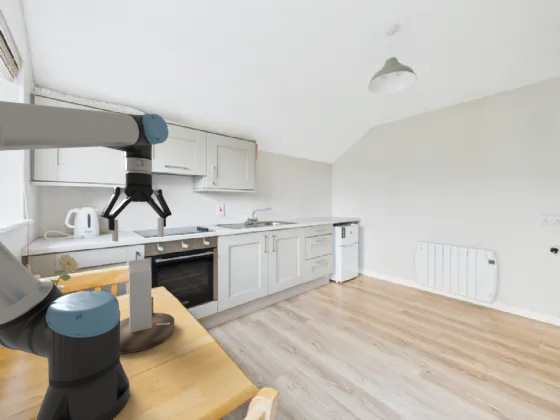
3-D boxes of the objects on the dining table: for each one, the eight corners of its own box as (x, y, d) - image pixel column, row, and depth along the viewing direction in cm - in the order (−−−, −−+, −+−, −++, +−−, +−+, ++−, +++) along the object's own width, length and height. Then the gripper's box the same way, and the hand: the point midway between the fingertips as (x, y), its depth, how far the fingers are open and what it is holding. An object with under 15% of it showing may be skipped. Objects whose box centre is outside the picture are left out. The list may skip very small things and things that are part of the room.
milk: (129, 325, 80) (128, 259, 80) (149, 320, 84) (148, 256, 83) (130, 333, 75) (129, 262, 75) (152, 327, 79) (151, 260, 78)
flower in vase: (50, 336, 79) (48, 260, 78) (23, 333, 81) (21, 258, 80) (89, 318, 91) (88, 252, 91) (64, 315, 94) (63, 251, 93)
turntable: (89, 356, 68) (88, 326, 68) (121, 322, 88) (121, 298, 87) (165, 348, 72) (165, 319, 72) (180, 317, 91) (179, 294, 91)
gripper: (95, 167, 66) (96, 244, 67) (181, 176, 86) (181, 236, 86) (87, 169, 71) (88, 242, 71) (171, 177, 90) (171, 234, 91)
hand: (139, 238), depth 79 cm, fingers open, 13 cm apart
